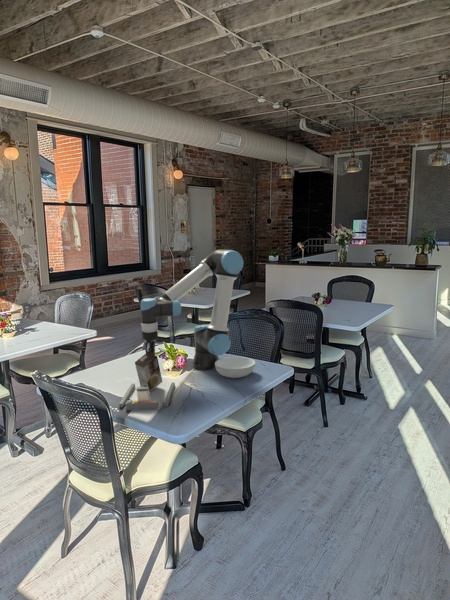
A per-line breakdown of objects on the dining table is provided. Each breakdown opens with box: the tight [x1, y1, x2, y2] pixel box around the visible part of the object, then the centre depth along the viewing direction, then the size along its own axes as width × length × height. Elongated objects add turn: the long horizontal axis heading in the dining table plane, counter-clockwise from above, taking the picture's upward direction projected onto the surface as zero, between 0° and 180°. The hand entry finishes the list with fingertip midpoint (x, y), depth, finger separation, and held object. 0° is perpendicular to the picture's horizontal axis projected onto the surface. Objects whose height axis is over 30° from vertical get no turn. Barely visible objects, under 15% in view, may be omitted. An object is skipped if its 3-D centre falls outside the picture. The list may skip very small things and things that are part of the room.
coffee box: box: [134, 352, 163, 393], centre depth 207 cm, size 9×6×16 cm
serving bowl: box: [215, 356, 256, 379], centre depth 226 cm, size 21×21×7 cm
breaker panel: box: [118, 382, 176, 411], centre depth 201 cm, size 21×26×4 cm
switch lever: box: [136, 386, 151, 402], centre depth 192 cm, size 5×4×8 cm
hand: (151, 376), depth 216 cm, fingers closed
